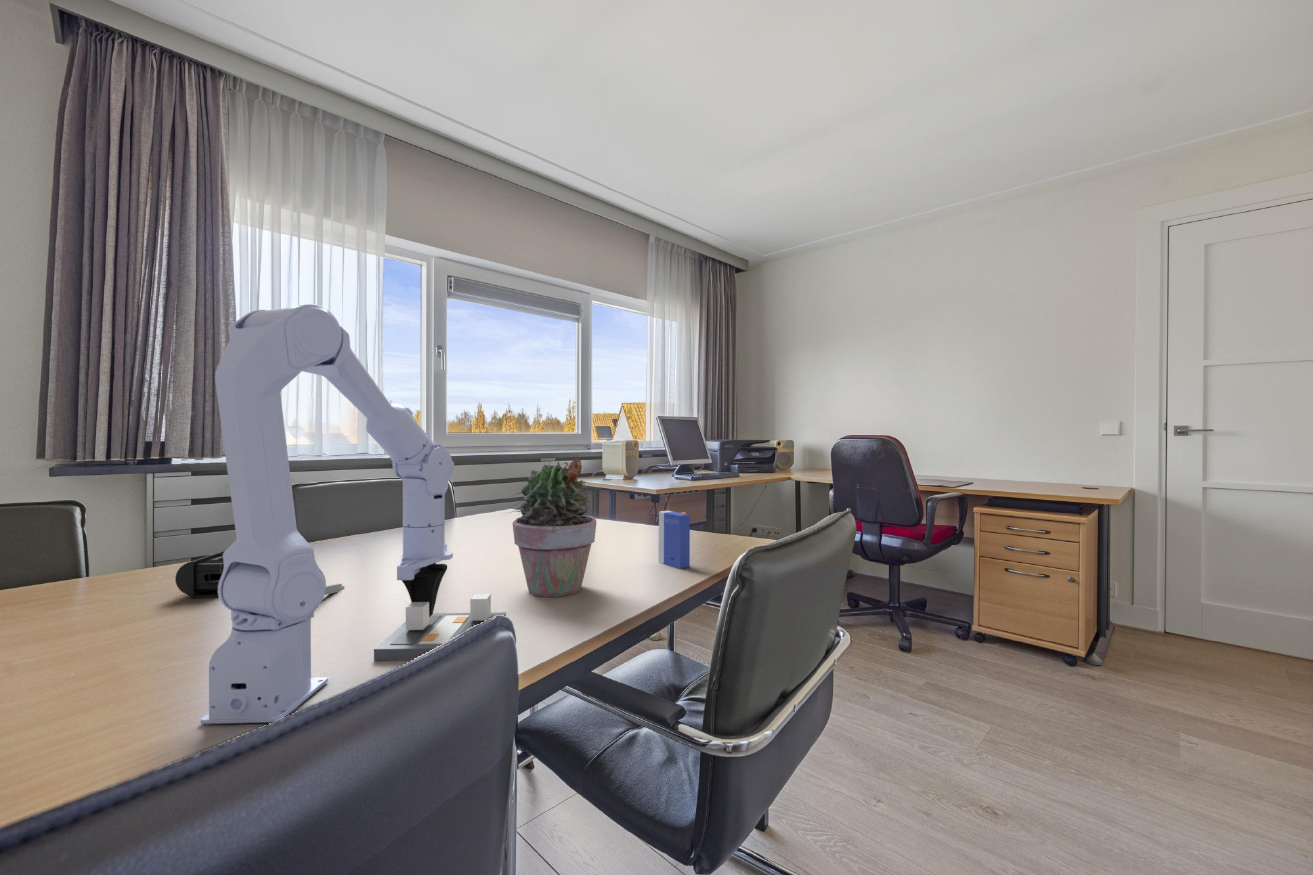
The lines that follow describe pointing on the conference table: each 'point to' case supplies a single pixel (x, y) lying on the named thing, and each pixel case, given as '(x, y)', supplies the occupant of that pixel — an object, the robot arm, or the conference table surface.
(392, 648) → the dip bank
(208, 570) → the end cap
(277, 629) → the robot arm
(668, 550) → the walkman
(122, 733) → the conference table surface
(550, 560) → the potted plant
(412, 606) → the switch
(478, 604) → the switch
